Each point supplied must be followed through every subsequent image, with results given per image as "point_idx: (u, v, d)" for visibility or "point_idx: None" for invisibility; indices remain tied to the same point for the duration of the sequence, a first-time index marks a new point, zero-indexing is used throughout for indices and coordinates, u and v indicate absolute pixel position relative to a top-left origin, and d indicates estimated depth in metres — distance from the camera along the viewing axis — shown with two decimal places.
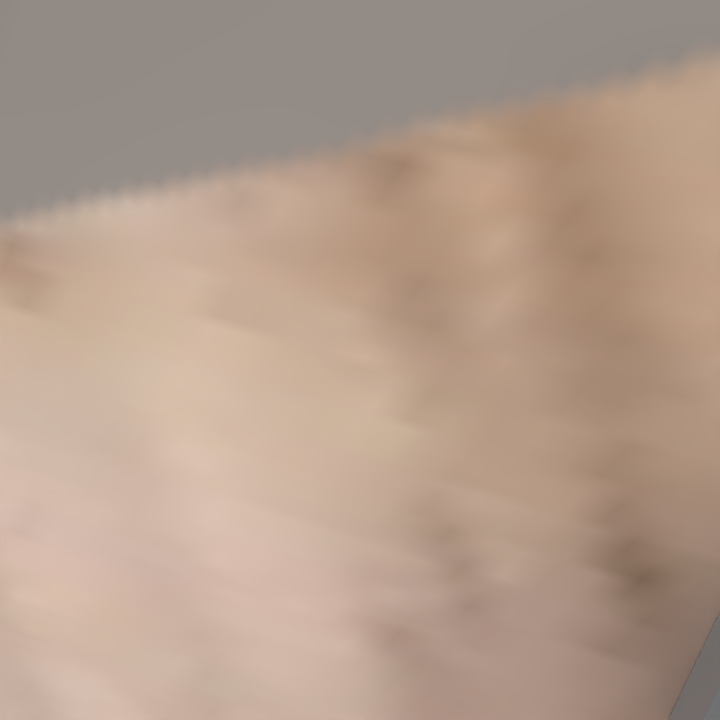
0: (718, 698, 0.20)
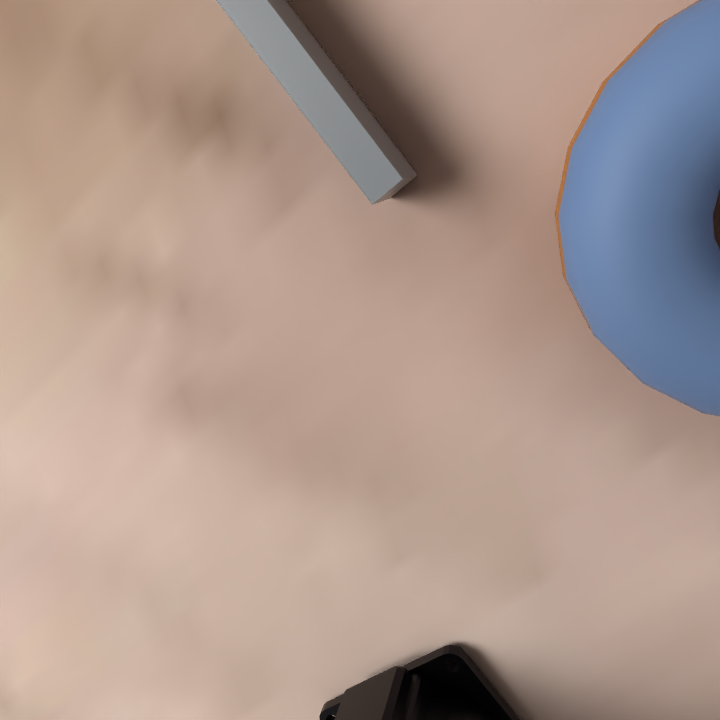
0: (300, 104, 0.17)
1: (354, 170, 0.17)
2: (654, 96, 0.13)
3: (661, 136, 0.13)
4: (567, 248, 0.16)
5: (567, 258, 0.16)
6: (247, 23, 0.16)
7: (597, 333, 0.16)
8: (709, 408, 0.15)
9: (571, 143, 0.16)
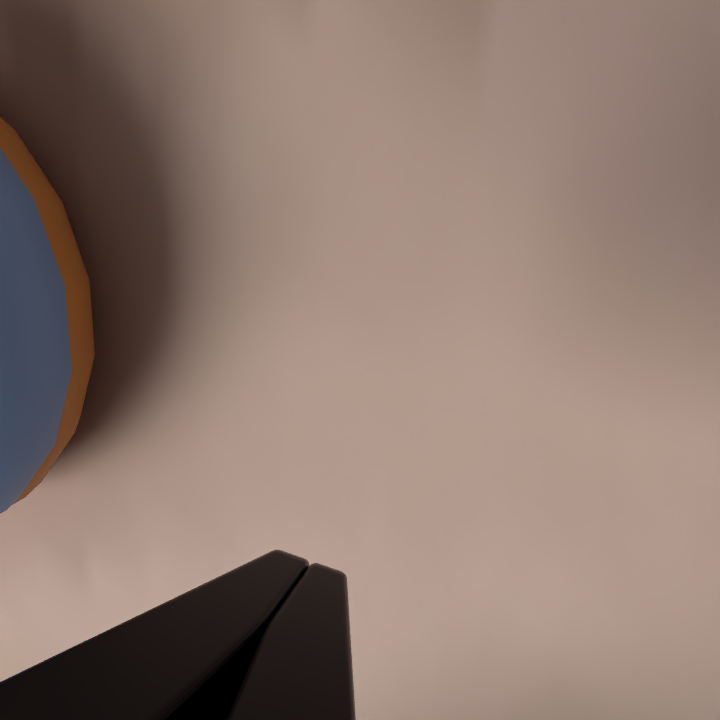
0: None
1: None
2: None
3: None
4: None
5: None
6: None
7: None
8: None
9: None
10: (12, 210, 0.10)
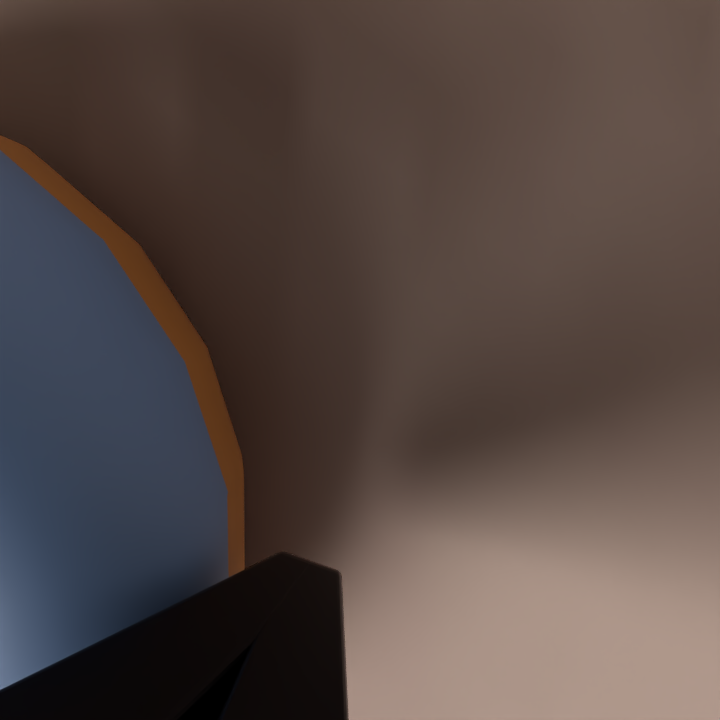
0: None
1: None
2: None
3: None
4: None
5: None
6: None
7: None
8: None
9: None
10: (164, 394, 0.07)
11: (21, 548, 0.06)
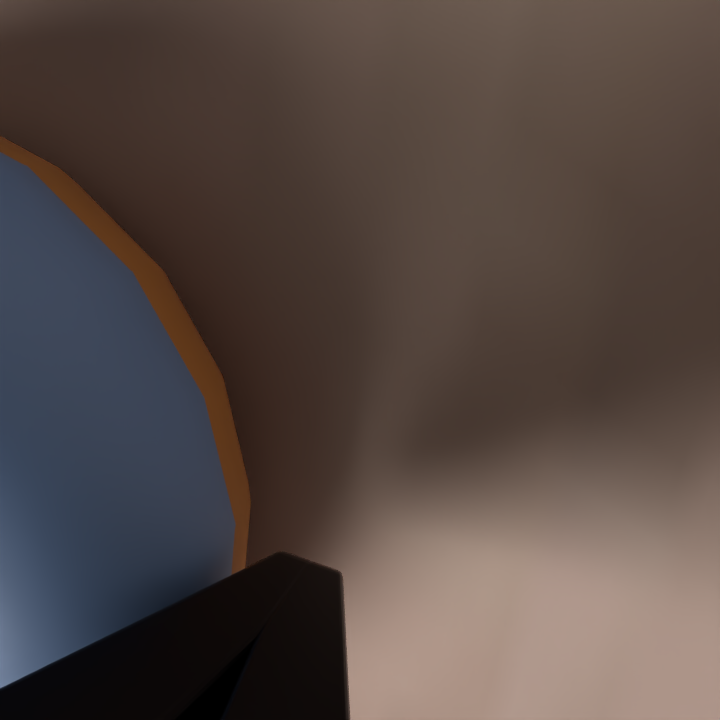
0: None
1: None
2: None
3: None
4: None
5: None
6: None
7: None
8: None
9: None
10: (184, 433, 0.07)
11: (37, 582, 0.06)
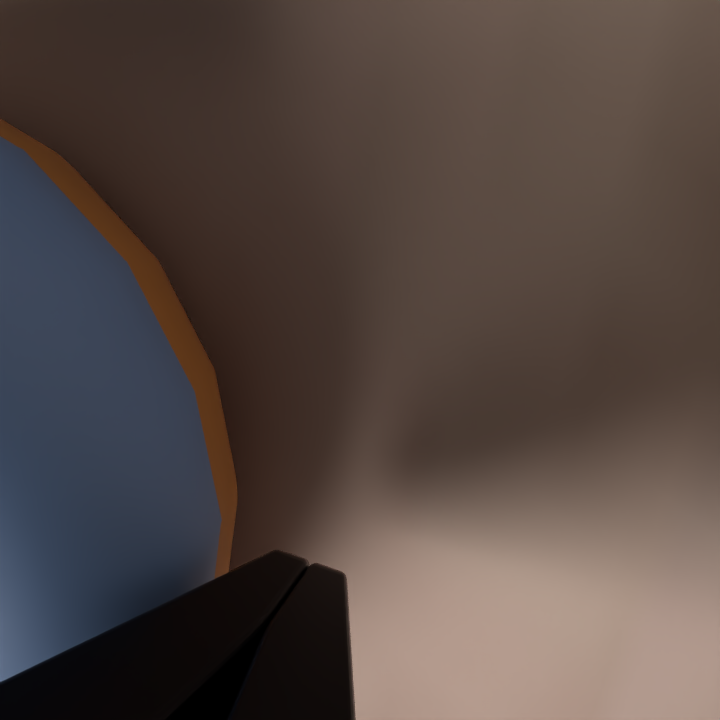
0: None
1: None
2: None
3: None
4: None
5: None
6: None
7: None
8: None
9: None
10: (173, 427, 0.07)
11: (19, 573, 0.06)
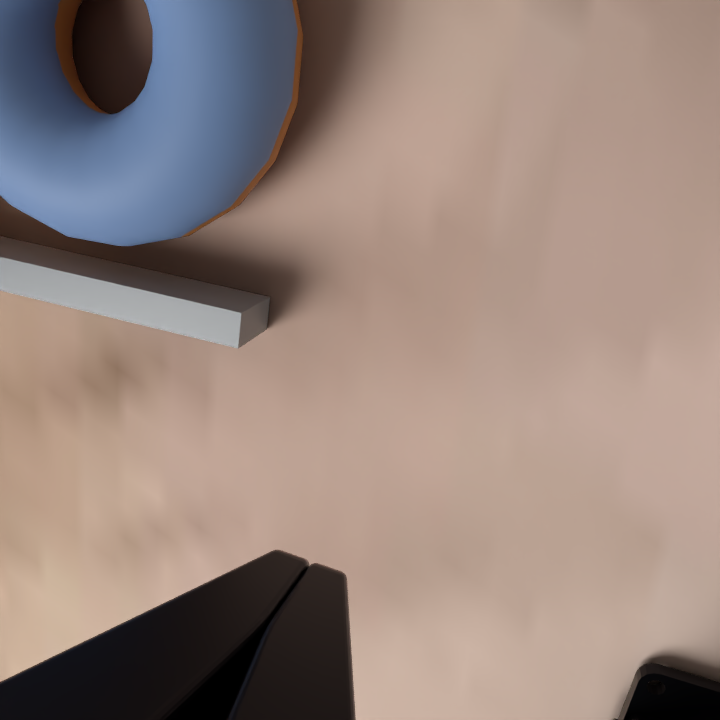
0: (136, 320, 0.18)
1: (206, 335, 0.18)
2: None
3: None
4: None
5: None
6: (65, 297, 0.19)
7: None
8: (149, 228, 0.16)
9: None
10: None
11: None
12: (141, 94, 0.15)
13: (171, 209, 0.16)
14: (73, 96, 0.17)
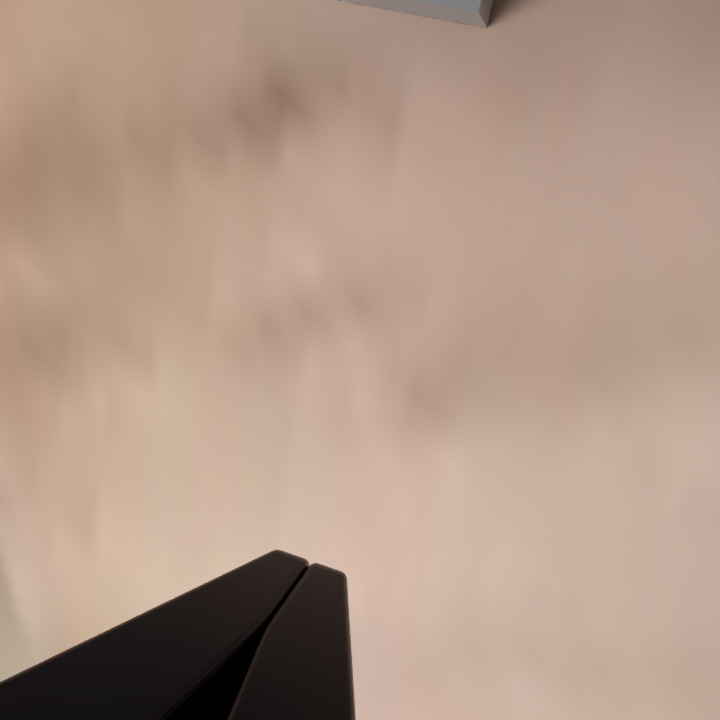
0: None
1: None
2: None
3: None
4: None
5: None
6: None
7: None
8: None
9: None
10: None
11: None
12: None
13: None
14: None
